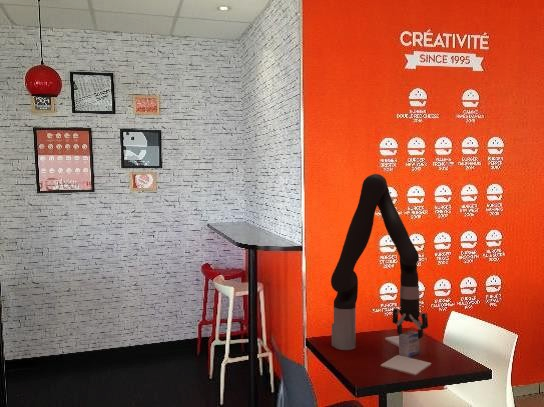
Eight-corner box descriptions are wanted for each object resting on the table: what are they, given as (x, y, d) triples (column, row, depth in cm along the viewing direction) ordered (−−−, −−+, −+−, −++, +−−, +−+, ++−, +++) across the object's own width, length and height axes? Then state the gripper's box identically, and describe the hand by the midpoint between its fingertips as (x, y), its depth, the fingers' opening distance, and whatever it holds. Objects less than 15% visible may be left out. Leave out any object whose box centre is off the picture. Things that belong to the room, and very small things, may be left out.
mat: (380, 366, 190) (380, 364, 190) (397, 356, 200) (397, 354, 200) (415, 375, 181) (415, 374, 181) (431, 364, 191) (431, 363, 191)
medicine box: (408, 358, 198) (408, 336, 198) (398, 355, 202) (398, 334, 201) (419, 353, 203) (419, 332, 203) (409, 350, 207) (409, 330, 206)
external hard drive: (401, 349, 209) (385, 340, 221) (417, 347, 212) (400, 338, 224) (401, 346, 209) (385, 337, 221) (417, 343, 212) (400, 335, 224)
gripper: (389, 295, 203) (389, 335, 203) (422, 300, 193) (422, 342, 194) (397, 292, 208) (398, 331, 209) (430, 297, 199) (430, 337, 200)
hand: (410, 336), depth 202 cm, fingers open, 8 cm apart
